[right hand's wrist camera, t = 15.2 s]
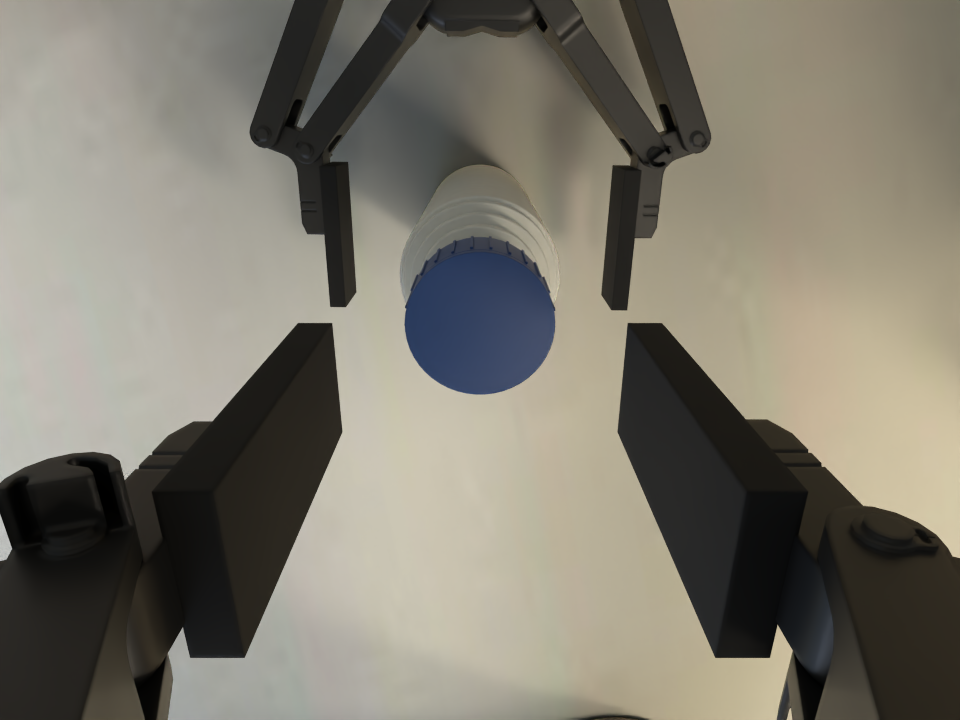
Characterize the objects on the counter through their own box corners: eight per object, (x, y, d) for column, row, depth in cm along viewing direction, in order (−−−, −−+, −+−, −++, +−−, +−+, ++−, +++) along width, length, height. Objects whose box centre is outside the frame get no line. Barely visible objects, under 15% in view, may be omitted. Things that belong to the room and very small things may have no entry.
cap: (389, 333, 20) (378, 359, 18) (446, 209, 19) (442, 222, 16) (509, 388, 21) (513, 418, 19) (574, 273, 19) (585, 292, 17)
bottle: (413, 240, 37) (347, 365, 18) (455, 145, 35) (429, 180, 16) (502, 283, 38) (522, 442, 19) (548, 193, 36) (620, 276, 17)
